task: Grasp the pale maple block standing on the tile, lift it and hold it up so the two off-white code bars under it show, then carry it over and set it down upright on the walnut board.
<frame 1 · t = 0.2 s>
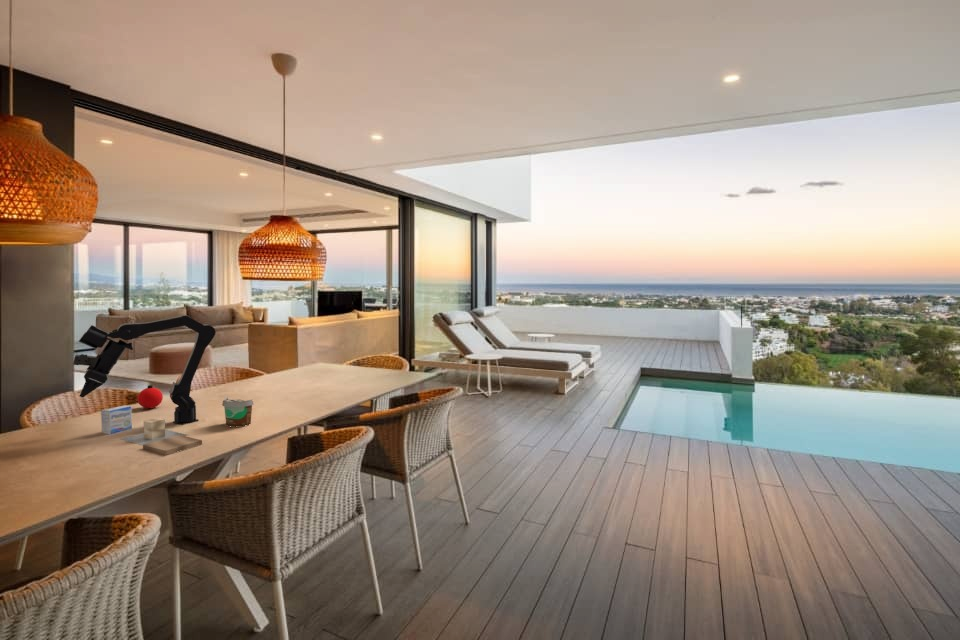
hand: (82, 394, 168), 15 cm above the table, tool tilted 30°, fingers open, 9 cm apart
code tile: (154, 437, 169), on the table
ornament: (150, 408, 208), on the table
maple block: (154, 436, 169), resting on code tile
medicine box: (117, 431, 175), on the table
walnut board: (173, 446, 160), on the table
food container: (234, 426, 185), on the table
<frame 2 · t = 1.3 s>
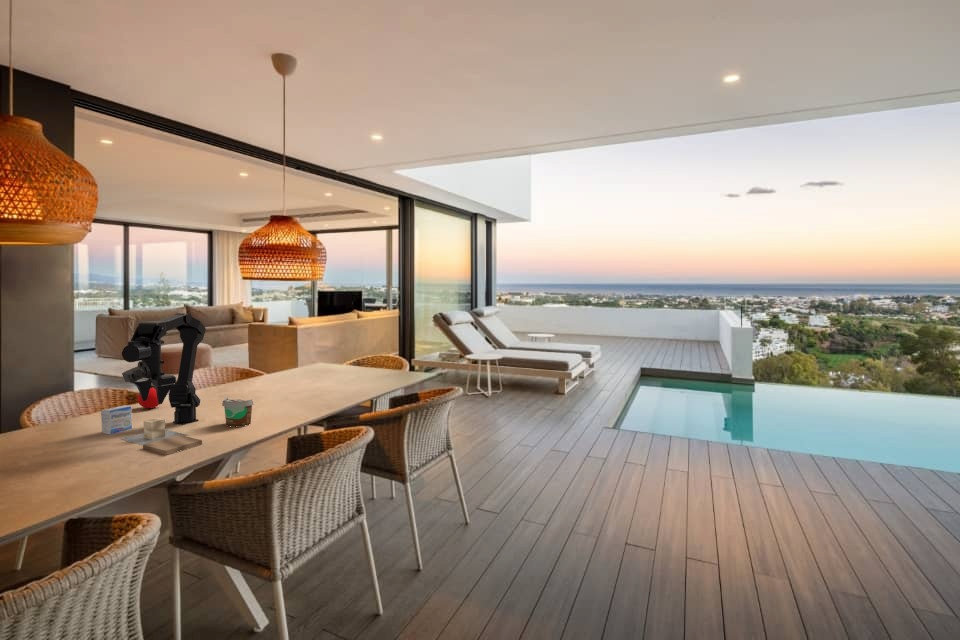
hand: (152, 402, 168), 12 cm above the table, tool pointing down, fingers open, 9 cm apart
nothing on the table moved.
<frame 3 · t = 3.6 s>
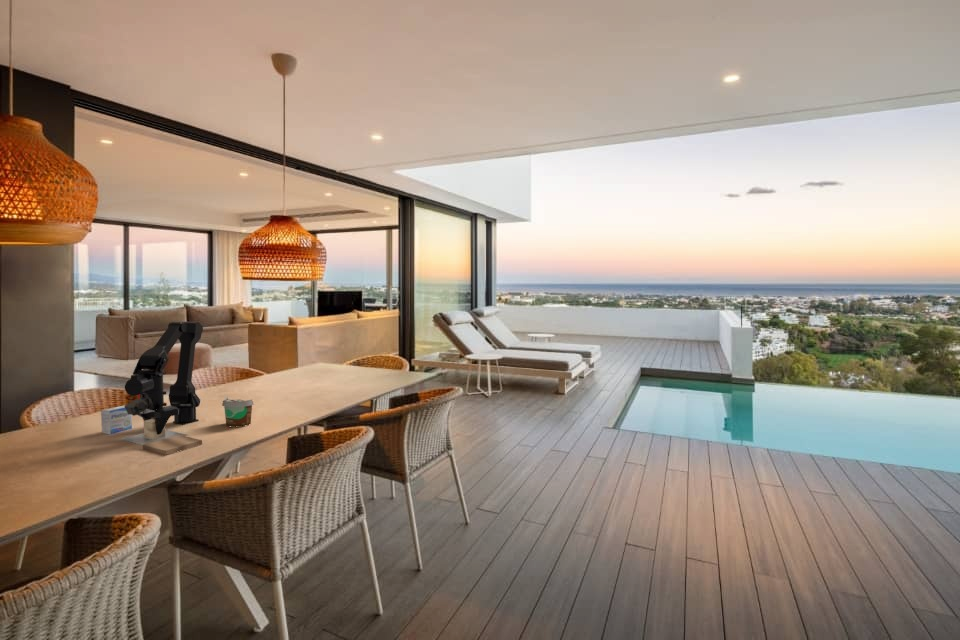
hand: (154, 433, 169), 2 cm above the table, tool pointing down, fingers closed on maple block, 4 cm apart
maple block: (154, 436, 169), resting on code tile, touching gripper
everything else where it was.
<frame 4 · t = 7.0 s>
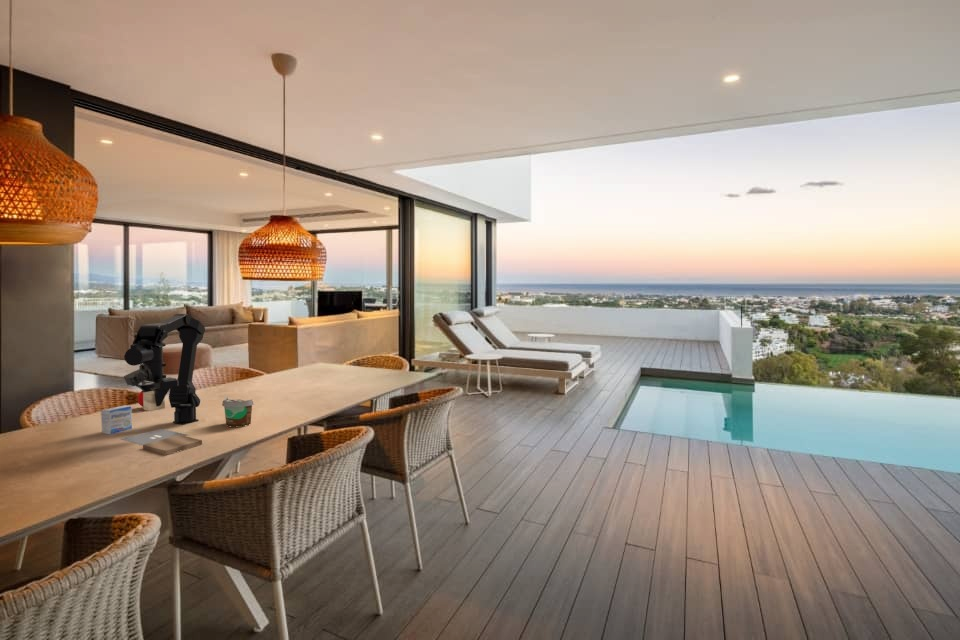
hand: (154, 405, 168), 12 cm above the table, tool pointing down, fingers closed on maple block, 4 cm apart
maple block: (154, 409, 168), point 10 cm above the table, touching gripper
everything else where it was.
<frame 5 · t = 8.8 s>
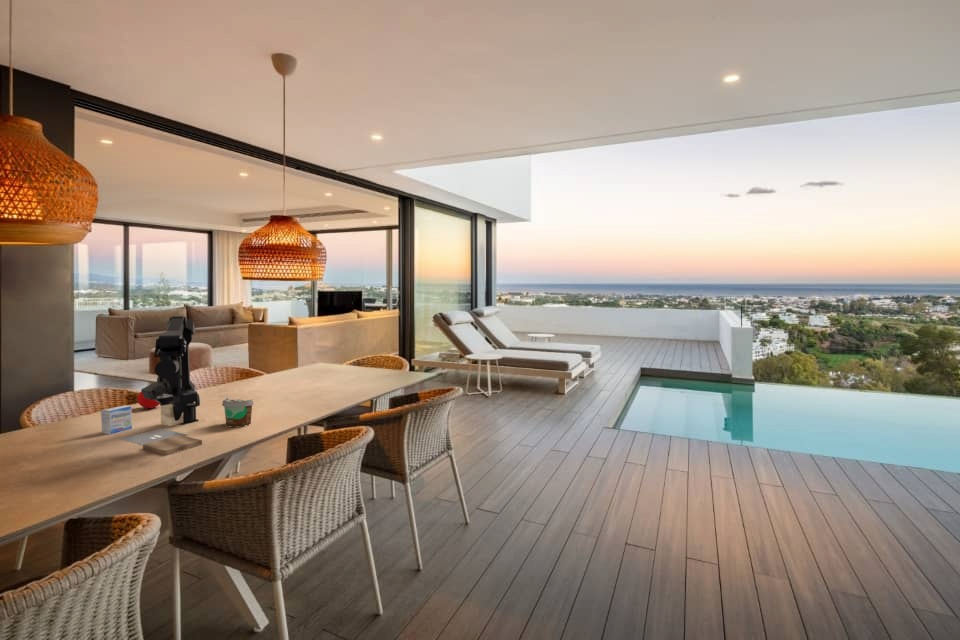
hand: (172, 419, 159), 9 cm above the table, tool pointing down, fingers closed on maple block, 4 cm apart
maple block: (172, 423, 159), point 8 cm above the table, touching gripper
everything else where it was.
when the fingers open (4 cm above the table, at t = 10.4 s): maple block drops 1 cm, resting on walnut board.
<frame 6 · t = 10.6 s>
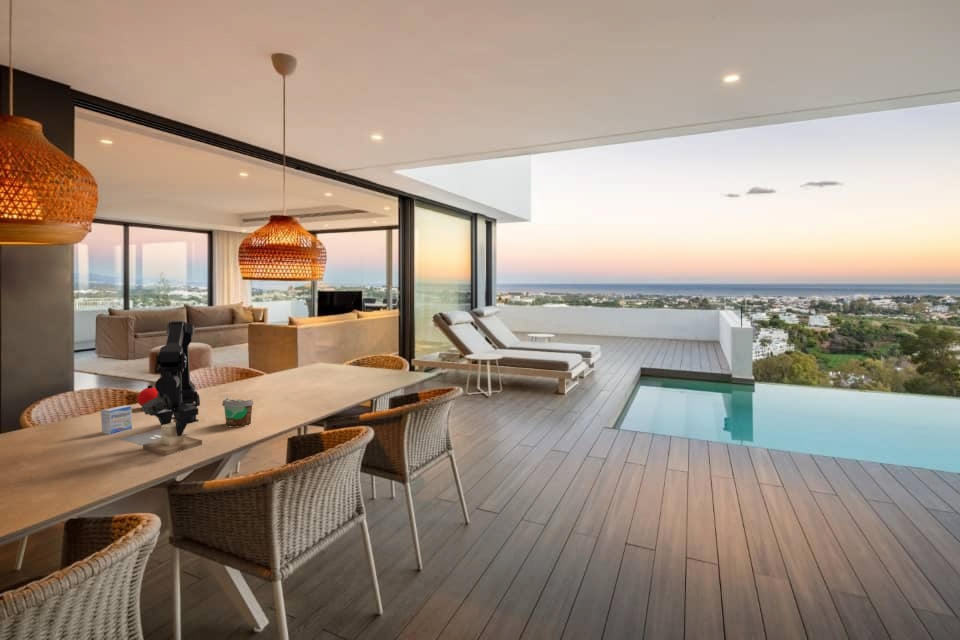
hand: (172, 434, 160), 4 cm above the table, tool pointing down, fingers open, 7 cm apart
maple block: (172, 442, 160), point 1 cm above the table, touching walnut board
everything else where it was.
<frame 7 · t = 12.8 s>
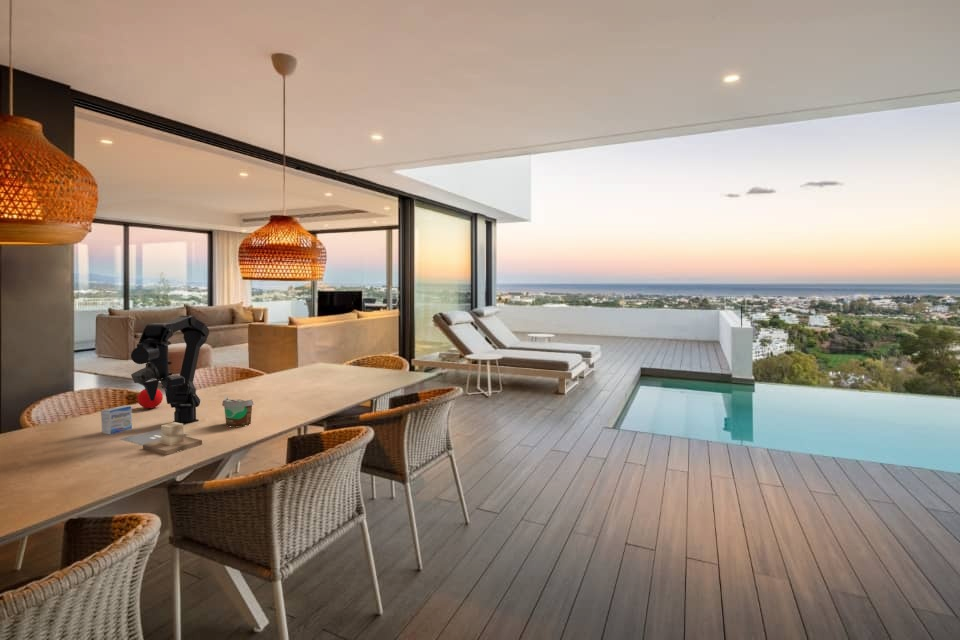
hand: (160, 402, 172), 12 cm above the table, tool pointing down, fingers open, 9 cm apart
nothing on the table moved.
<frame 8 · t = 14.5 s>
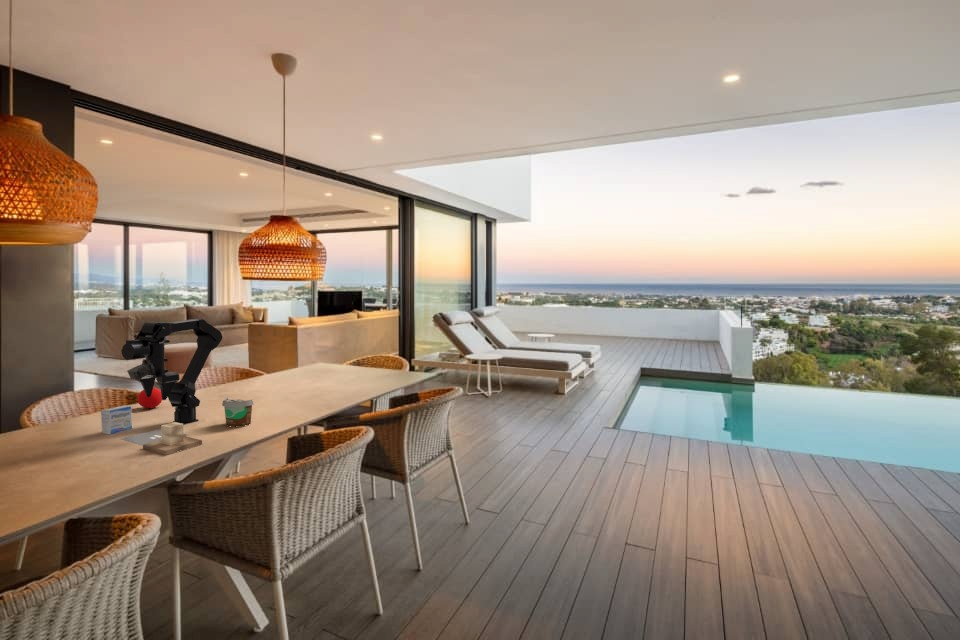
hand: (156, 398, 176), 12 cm above the table, tool pointing down, fingers open, 9 cm apart
nothing on the table moved.
at the end: maple block inside the target area on the walnut board (0.1 cm from its centre), point 1.5 cm above the walnut board's base; maple block tilted 0°; the gripper is holding nothing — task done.
